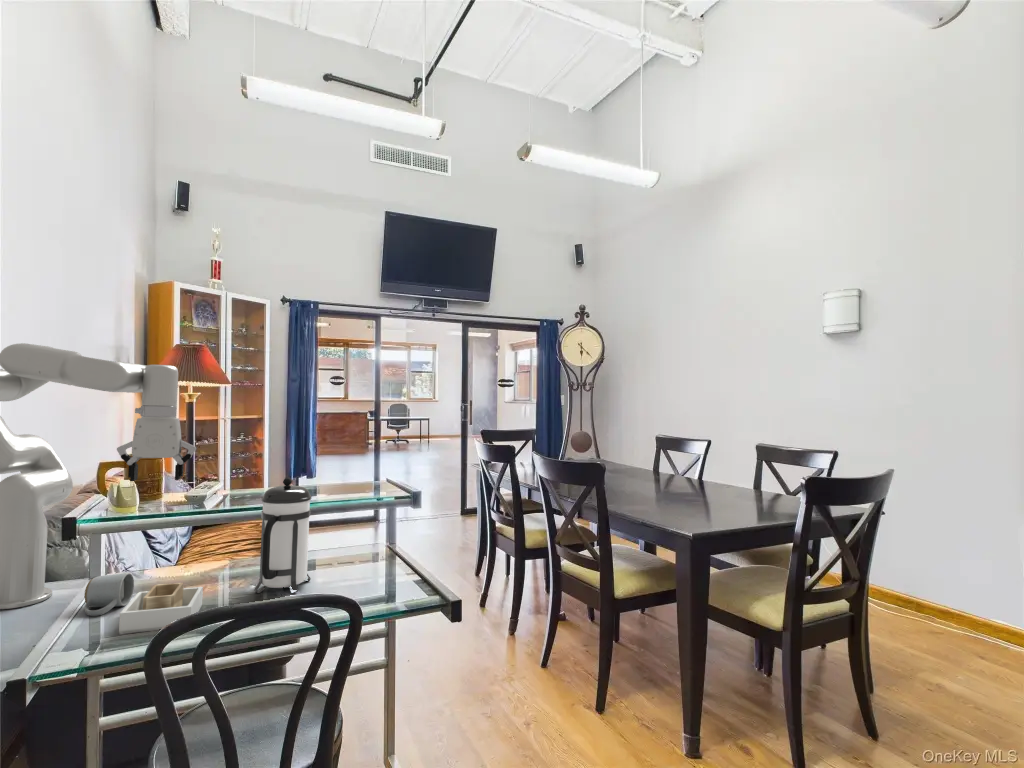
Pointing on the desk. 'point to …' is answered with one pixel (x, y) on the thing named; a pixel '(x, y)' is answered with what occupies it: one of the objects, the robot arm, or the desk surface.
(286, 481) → the coffee press
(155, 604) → the birch crate
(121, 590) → the ceramic mug
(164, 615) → the grey crate
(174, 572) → the desk surface
